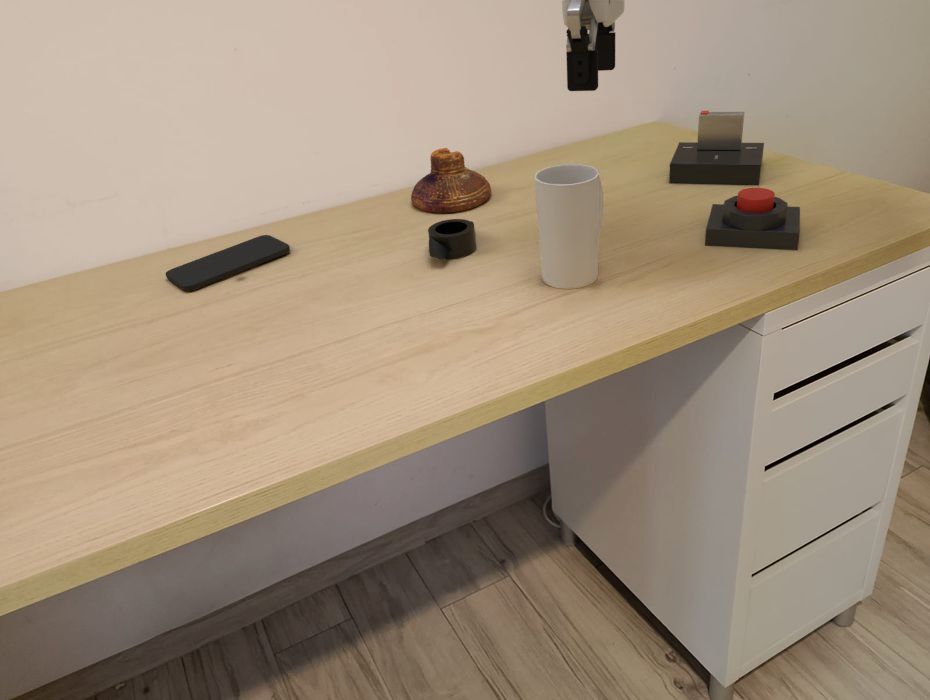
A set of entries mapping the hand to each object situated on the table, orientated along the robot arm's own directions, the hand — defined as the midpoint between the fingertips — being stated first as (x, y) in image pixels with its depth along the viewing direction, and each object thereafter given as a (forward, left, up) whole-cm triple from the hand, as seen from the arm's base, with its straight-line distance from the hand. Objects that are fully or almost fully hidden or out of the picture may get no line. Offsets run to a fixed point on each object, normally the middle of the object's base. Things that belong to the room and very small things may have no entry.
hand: (592, 79), depth 83 cm
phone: (+45, +14, -19) cm, 51 cm away
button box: (-18, -4, -19) cm, 27 cm away
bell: (+24, -12, -19) cm, 33 cm away
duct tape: (+17, +5, -19) cm, 26 cm away
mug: (0, +9, -19) cm, 22 cm away
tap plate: (-12, -27, -19) cm, 35 cm away
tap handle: (-12, -27, -16) cm, 34 cm away
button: (-18, -3, -15) cm, 24 cm away
